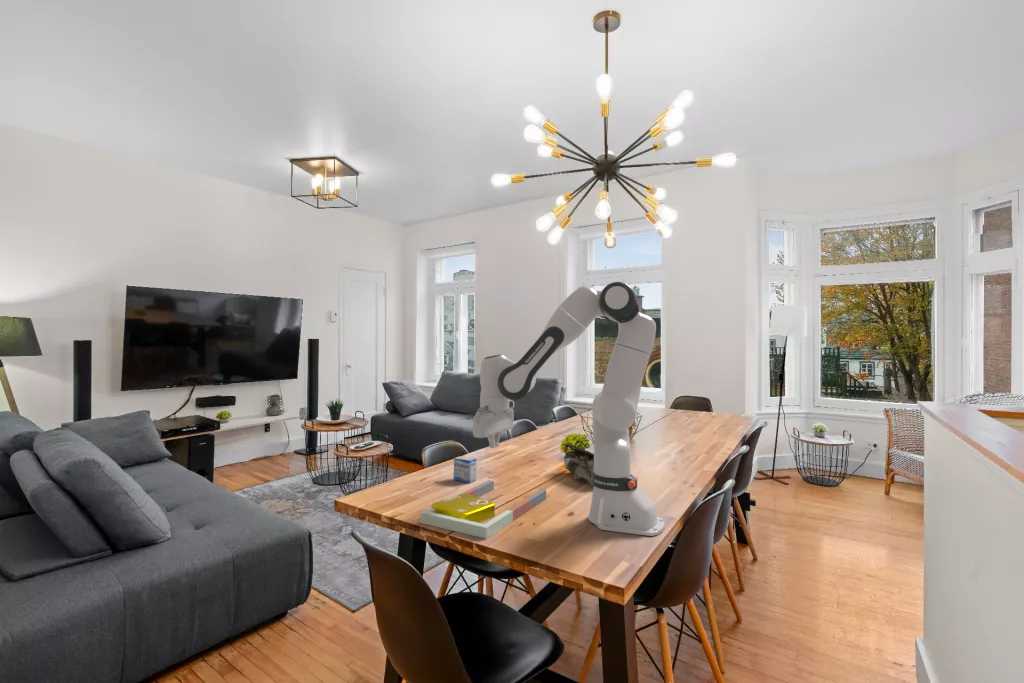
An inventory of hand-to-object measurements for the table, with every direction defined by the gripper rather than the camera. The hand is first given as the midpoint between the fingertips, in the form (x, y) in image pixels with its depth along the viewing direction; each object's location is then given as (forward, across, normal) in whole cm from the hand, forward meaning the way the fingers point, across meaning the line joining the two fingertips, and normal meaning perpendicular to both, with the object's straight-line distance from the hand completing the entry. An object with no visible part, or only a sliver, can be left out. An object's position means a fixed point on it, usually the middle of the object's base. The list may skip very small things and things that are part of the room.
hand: (494, 447), depth 157 cm
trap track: (+20, -3, 0) cm, 20 cm away
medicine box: (+20, +20, +26) cm, 38 cm away
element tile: (+20, -11, +4) cm, 24 cm away
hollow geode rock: (+20, +47, -15) cm, 54 cm away
